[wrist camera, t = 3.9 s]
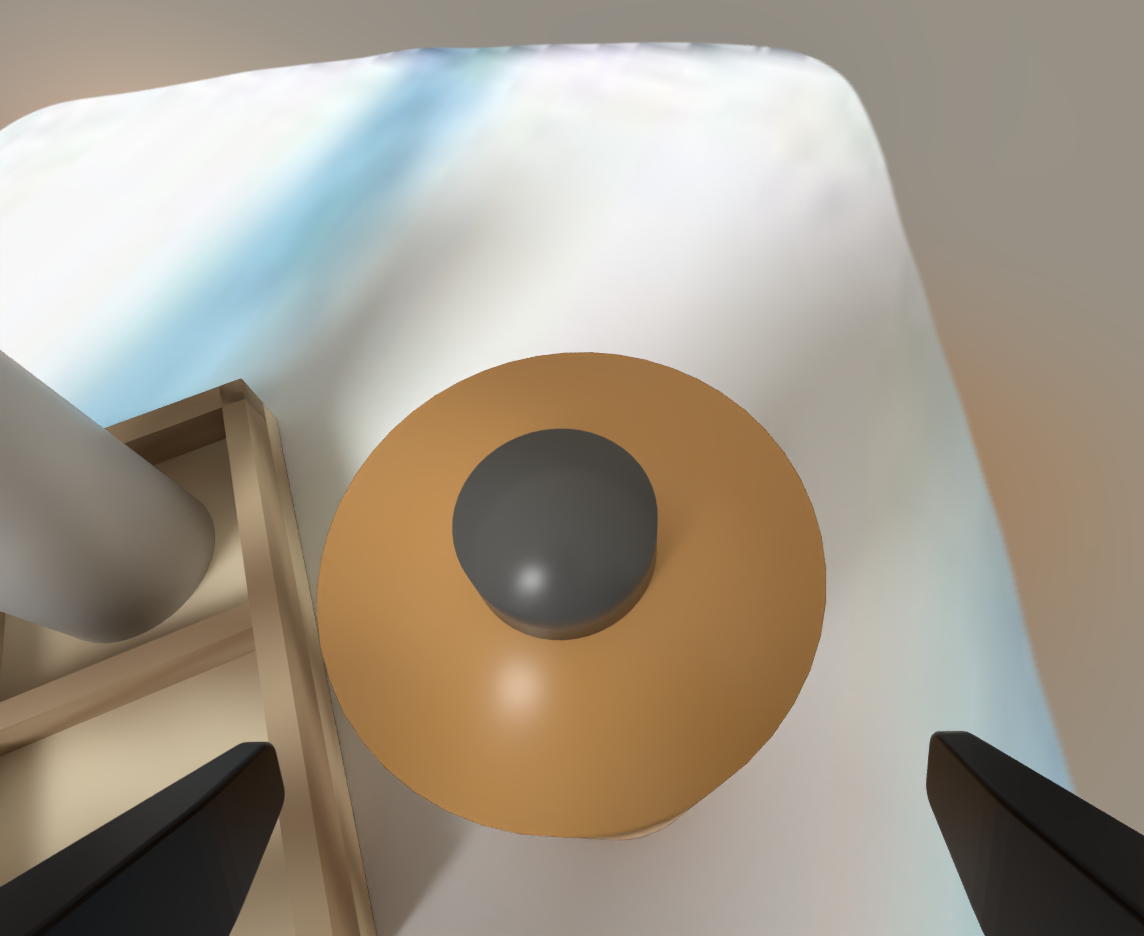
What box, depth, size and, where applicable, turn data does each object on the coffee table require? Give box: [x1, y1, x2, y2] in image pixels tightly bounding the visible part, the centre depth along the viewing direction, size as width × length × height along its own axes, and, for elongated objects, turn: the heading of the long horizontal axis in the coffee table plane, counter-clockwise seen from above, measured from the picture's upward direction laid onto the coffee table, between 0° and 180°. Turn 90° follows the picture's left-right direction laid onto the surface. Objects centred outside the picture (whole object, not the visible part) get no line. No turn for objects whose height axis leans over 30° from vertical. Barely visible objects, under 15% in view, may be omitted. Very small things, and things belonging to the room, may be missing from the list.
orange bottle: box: [317, 352, 826, 840], centre depth 12 cm, size 5×5×14 cm
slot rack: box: [0, 379, 377, 936], centre depth 19 cm, size 18×10×2 cm, turn 22°
